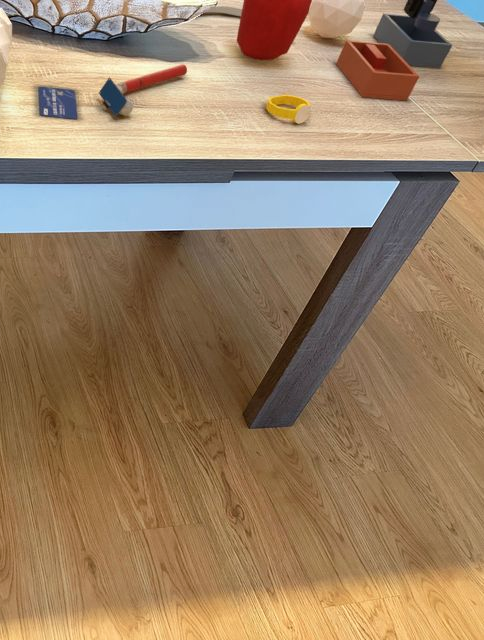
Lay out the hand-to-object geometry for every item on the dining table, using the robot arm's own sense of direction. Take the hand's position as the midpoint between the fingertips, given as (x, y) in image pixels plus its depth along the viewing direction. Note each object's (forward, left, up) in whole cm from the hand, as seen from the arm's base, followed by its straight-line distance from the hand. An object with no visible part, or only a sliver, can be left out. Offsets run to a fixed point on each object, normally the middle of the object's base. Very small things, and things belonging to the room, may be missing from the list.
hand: (415, 14), depth 131 cm
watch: (-26, +33, -5) cm, 42 cm away
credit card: (-31, +66, -6) cm, 74 cm away
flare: (-24, +51, -5) cm, 57 cm away
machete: (+3, +33, -6) cm, 33 cm away
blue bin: (-2, 0, -6) cm, 6 cm away
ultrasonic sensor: (-32, +59, -6) cm, 67 cm away
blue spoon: (-2, 0, 0) cm, 2 cm away
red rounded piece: (-9, +30, -6) cm, 32 cm away
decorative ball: (+1, +15, -6) cm, 16 cm away
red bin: (-16, +12, -6) cm, 21 cm away
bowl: (-32, +78, -1) cm, 85 cm away
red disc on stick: (-16, +12, -5) cm, 21 cm away
